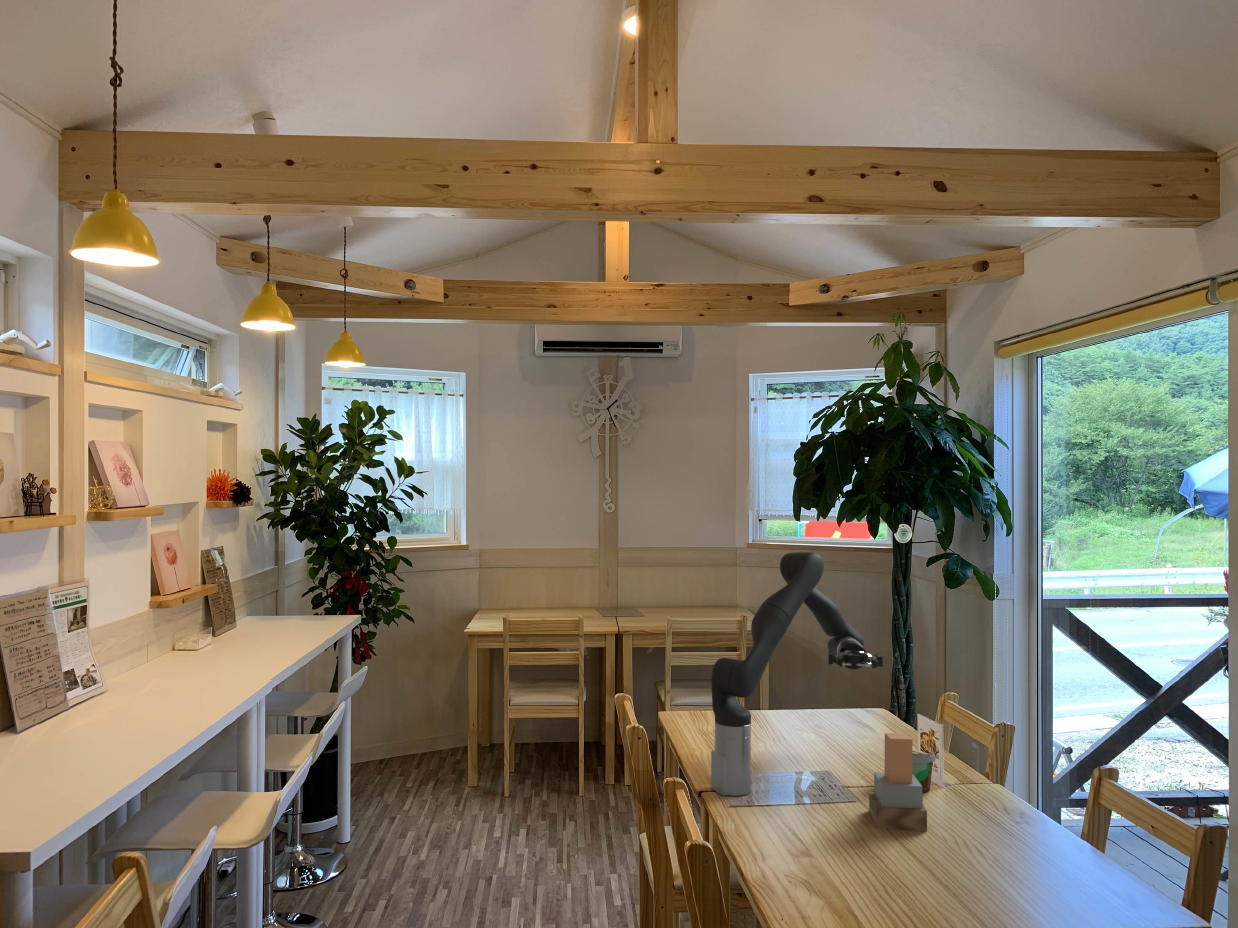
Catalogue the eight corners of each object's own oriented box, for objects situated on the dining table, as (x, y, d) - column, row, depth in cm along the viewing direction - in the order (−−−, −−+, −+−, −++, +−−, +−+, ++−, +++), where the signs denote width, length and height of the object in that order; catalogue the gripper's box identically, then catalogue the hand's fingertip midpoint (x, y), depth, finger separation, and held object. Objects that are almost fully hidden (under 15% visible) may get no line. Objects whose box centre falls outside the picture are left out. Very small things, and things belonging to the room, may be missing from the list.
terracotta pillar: (890, 782, 198) (890, 738, 199) (884, 775, 203) (884, 732, 204) (912, 782, 198) (912, 739, 199) (905, 776, 203) (906, 733, 204)
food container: (882, 789, 222) (882, 750, 222) (886, 782, 227) (886, 744, 228) (932, 797, 216) (932, 757, 217) (936, 790, 222) (935, 751, 222)
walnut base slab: (876, 830, 196) (877, 807, 196) (869, 812, 207) (869, 791, 207) (927, 832, 194) (927, 810, 195) (916, 815, 205) (916, 793, 206)
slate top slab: (882, 806, 197) (881, 784, 197) (874, 793, 206) (874, 772, 206) (922, 808, 196) (922, 786, 196) (912, 794, 205) (912, 773, 205)
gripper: (825, 638, 243) (830, 648, 227) (877, 640, 241) (885, 650, 225) (825, 665, 243) (829, 676, 227) (877, 667, 241) (885, 679, 225)
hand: (857, 663), depth 226 cm, fingers open, 8 cm apart
